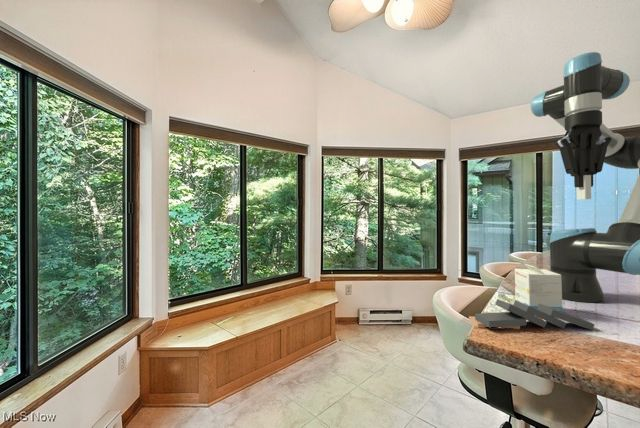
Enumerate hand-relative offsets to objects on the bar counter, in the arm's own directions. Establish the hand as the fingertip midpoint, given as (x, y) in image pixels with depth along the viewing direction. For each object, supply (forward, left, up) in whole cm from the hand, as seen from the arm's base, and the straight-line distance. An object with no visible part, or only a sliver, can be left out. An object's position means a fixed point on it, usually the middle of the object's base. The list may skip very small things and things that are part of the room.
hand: (583, 199), depth 76 cm
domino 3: (+18, +1, -32) cm, 36 cm away
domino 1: (+24, -1, -32) cm, 40 cm away
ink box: (+8, -7, -33) cm, 34 cm away
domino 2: (+23, 0, -31) cm, 38 cm away
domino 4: (+13, +2, -32) cm, 34 cm away
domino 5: (+8, +5, -32) cm, 33 cm away
